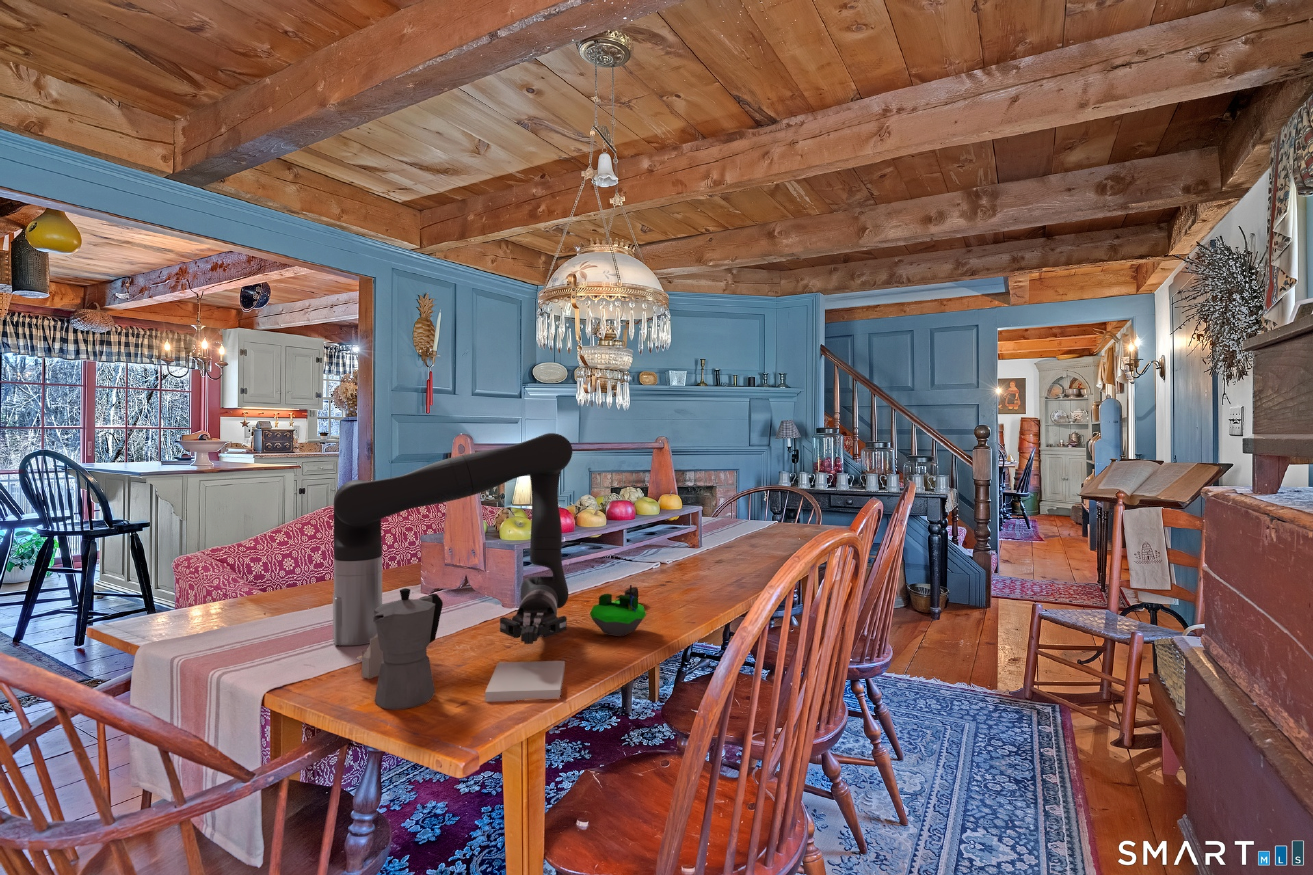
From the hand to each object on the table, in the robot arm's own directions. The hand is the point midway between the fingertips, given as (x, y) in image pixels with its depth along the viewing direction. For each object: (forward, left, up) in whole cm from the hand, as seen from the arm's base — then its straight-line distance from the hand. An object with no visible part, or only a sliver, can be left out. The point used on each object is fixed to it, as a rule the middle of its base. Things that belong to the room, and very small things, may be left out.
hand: (528, 638), depth 117 cm
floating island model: (+26, +17, -8) cm, 32 cm away
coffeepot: (-19, +3, -8) cm, 21 cm away
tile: (+2, +5, -7) cm, 9 cm away
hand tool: (+35, +33, -8) cm, 48 cm away
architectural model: (-22, +18, -8) cm, 29 cm away
